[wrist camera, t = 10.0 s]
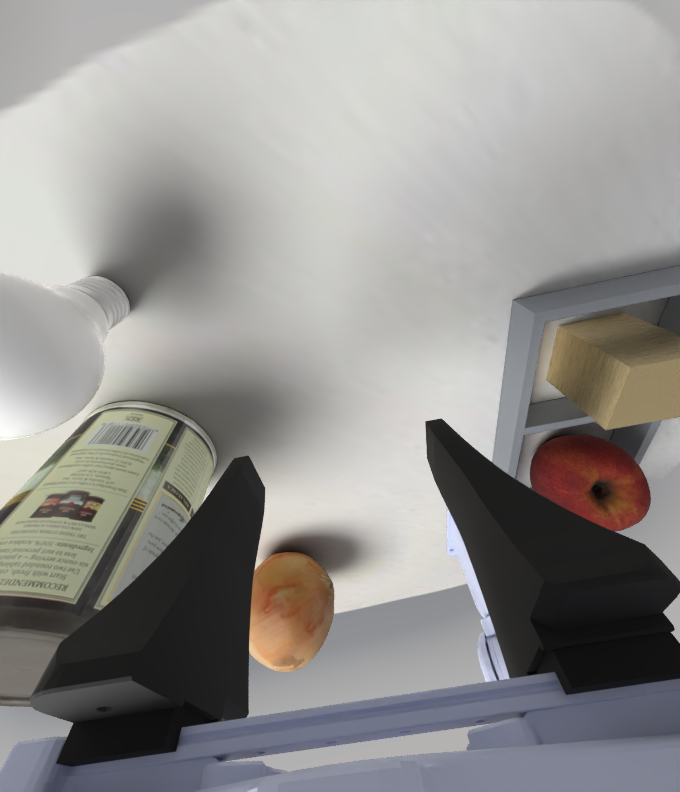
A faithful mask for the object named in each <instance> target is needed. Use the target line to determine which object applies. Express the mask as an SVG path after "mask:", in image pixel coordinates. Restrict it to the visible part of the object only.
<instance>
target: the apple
mask: <svg viewBox="0 0 680 792" xmlns="http://www.w3.org/2000/svg"><path fill="white" fill-rule="evenodd" d="M530 480H531V485H532V488H533V490H534V491H535V492H536V493H538V494H540V495H541V496H543V497H545V498H547V499H549V500H551V501H552V502H554V503H556V504H558V505H560V506H562V507H563V508H565V509H567V510H569V511H571V512H573V513H575V514H577V515H579V516H581V517H583V518H585V519H587V520H589V521H592V522H594V523H596V524H598V525H600V526H602V527H604V528H607V529H609V530H612V531H614V532H615V531H620V530H624V529H626V528H629V527H631V526H633V525H635V524H637V523H638V522H640V521H641V520H642V519H643V518H644V517H645V515H646V514H647V512H648V510H649V507H650V501H651V498H650V490H649V486H648V483H647V480H646V477H645V475H644V473H643V472H642V470H641V468H640V467H639V465H638V464H637V462H636V461H635V460H634V459H633V458H632V457H631V456H630V455H629V454H628V453H627V452H626V451H625V450H623V449H622V448H621V447H619V446H617V445H616V444H614V443H612V442H610V441H607V440H605V439H601V438H598V437H594V436H588V435H566V436H561V437H557V438H554V439H552V440H550V441H548V442H546V443H545V444H543V445H542V446H541V447H540V448H539V449H538V450H537V452H536V453H535V455H534V457H533V459H532V462H531V467H530Z"/></svg>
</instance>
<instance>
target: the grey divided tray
mask: <svg viewBox="0 0 680 792" xmlns="http://www.w3.org/2000/svg"><path fill="white" fill-rule="evenodd" d="M666 297H669V299H668V302H667V304H666V307H665V309H664V312H663V314H662V316H661V319H660V321H659V324H658V327H661V328H663V329H665V330H668V331H670V332H673V333H675V334H677V335H680V265H679V266H674V267H670V268H665V269H660V270H655V271H650V272H646V273H641V274H636V275H631V276H626V277H622V278H617V279H612V280H607V281H603V282H598V283H593V284H588V285H583V286H579V287H574V288H569V289H564V290H560V291H555V292H550V293H545V294H540V295H536V296H531V297H526V298H521V299H516V300H513V302H512V310H511V318H510V326H509V334H508V342H507V350H506V358H505V366H504V374H503V382H502V390H501V398H500V406H499V414H498V422H497V430H496V438H495V446H494V454H493V462H492V463H493V464H495V465H496V466H497V467H499V468H500V469H501V470H503V471H504V472H506V473H507V474H508V475H510V476H511V477H513V478H514V479H515V476H516V471H517V466H518V460H519V455H520V450H521V445H522V440H523V435H528V434H533V433H539V432H544V431H549V430H555V429H560V428H565V427H571V426H576V425H581V424H587V423H592V422H595V421H594V420H593V419H592V418H591V417H589V416H588V415H587V414H586V413H585V412H584V411H582V410H581V409H580V408H579V407H578V406H576V405H575V404H574V403H573V402H572V401H571V400H569V399H568V398H567V397H566V398H561V399H555V400H550V401H545V402H540V403H535V404H529V403H530V398H531V393H532V388H533V383H534V377H535V372H536V367H537V362H538V357H539V352H540V346H541V341H542V336H543V331H544V326H545V322H549V321H554V320H558V319H563V318H568V317H573V316H578V315H583V314H588V313H593V312H598V311H602V310H607V309H612V308H617V307H622V306H627V305H632V304H637V303H642V302H646V301H651V300H656V299H661V298H666ZM661 421H662V420H659V421H654V422H648V423H643V424H637V425H632V426H626V427H621V428H615V430H614V433H613V435H612V438H611V440H610V442H612V443H614V444H616V445H617V446H619V447H621V448H622V449H623V450H625V451H626V452H627V453H628V454H629V455H630V456H631V457H632V458H633V459H634V460H635V461H636V462H637V464H638V465H639V464H640V462H641V460H642V458H643V456H644V454H645V452H646V450H647V448H648V447H649V445H650V443H651V441H652V439H653V437H654V435H655V433H656V431H657V429H658V427H659V425H660V423H661ZM530 489H532V490H533V488H530ZM533 491H534V490H533Z"/></svg>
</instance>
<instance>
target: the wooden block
mask: <svg viewBox="0 0 680 792" xmlns="http://www.w3.org/2000/svg"><path fill="white" fill-rule="evenodd" d="M546 380H547V381H548V382H549V383H550V384H552V385H553V386H554V387H555V388H556V389H558V390H559V391H560V392H561V393H562V394H563V395H565V396H566V397H567V398H568V399H569V400H571V401H572V402H573V403H574V404H575V405H576V406H578V407H579V408H580V409H581V410H582V411H584V412H585V413H586V414H587V415H588V416H589V417H591V418H592V419H593V420H594V421H595V422H597V423H598V424H599V425H600V426H601V427H602V428H604V429H605V430H610V429H615V428H621V427H626V426H632V425H637V424H643V423H648V422H654V421H659V420H665V419H671V418H676V417H680V335H677V334H675V333H673V332H670V331H668V330H665V329H663V328H661V327H658V326H656V325H653V324H651V323H649V322H646V321H644V320H641V319H639V318H637V317H634V316H632V315H629V314H627V313H621V314H616V315H611V316H605V317H600V318H595V319H590V320H585V321H580V322H575V323H570V324H565V325H560V326H558V331H557V335H556V339H555V344H554V348H553V352H552V357H551V361H550V366H549V370H548V374H547V379H546Z"/></svg>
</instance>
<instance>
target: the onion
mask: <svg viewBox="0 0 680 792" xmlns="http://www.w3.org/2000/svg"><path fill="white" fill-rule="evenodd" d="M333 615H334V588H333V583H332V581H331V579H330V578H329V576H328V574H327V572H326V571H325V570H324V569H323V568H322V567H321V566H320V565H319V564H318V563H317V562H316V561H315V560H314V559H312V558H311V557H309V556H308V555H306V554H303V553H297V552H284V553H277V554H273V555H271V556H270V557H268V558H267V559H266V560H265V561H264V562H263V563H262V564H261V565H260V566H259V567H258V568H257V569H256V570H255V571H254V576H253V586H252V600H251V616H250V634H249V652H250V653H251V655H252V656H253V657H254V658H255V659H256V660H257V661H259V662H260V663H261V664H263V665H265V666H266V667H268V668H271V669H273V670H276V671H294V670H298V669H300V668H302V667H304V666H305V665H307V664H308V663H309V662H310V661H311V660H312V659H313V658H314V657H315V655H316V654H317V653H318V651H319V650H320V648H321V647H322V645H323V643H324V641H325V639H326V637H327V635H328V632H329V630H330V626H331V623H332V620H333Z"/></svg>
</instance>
